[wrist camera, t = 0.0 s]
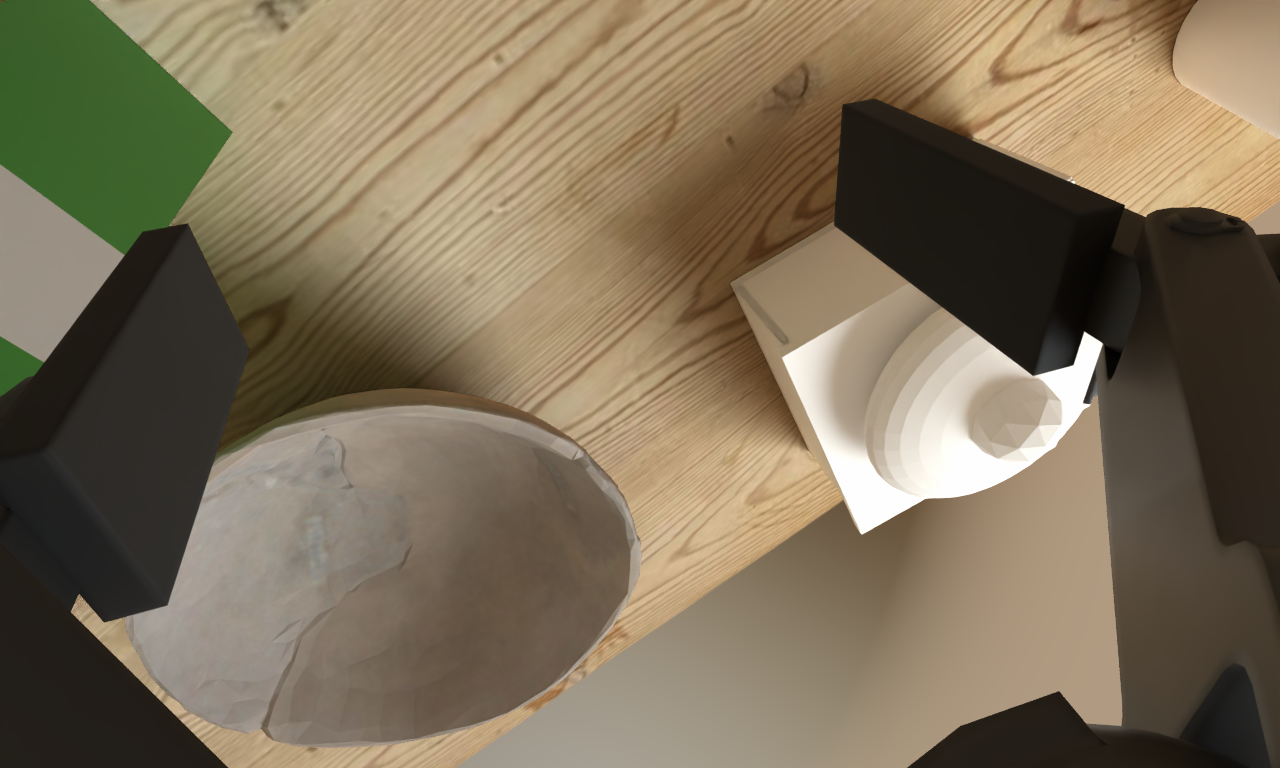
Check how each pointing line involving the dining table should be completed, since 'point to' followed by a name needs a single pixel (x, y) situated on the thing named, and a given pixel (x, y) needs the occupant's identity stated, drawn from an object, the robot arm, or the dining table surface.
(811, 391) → the white lidded square jar
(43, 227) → the hardback book
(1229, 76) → the cup
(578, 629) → the bowl
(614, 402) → the dining table surface
